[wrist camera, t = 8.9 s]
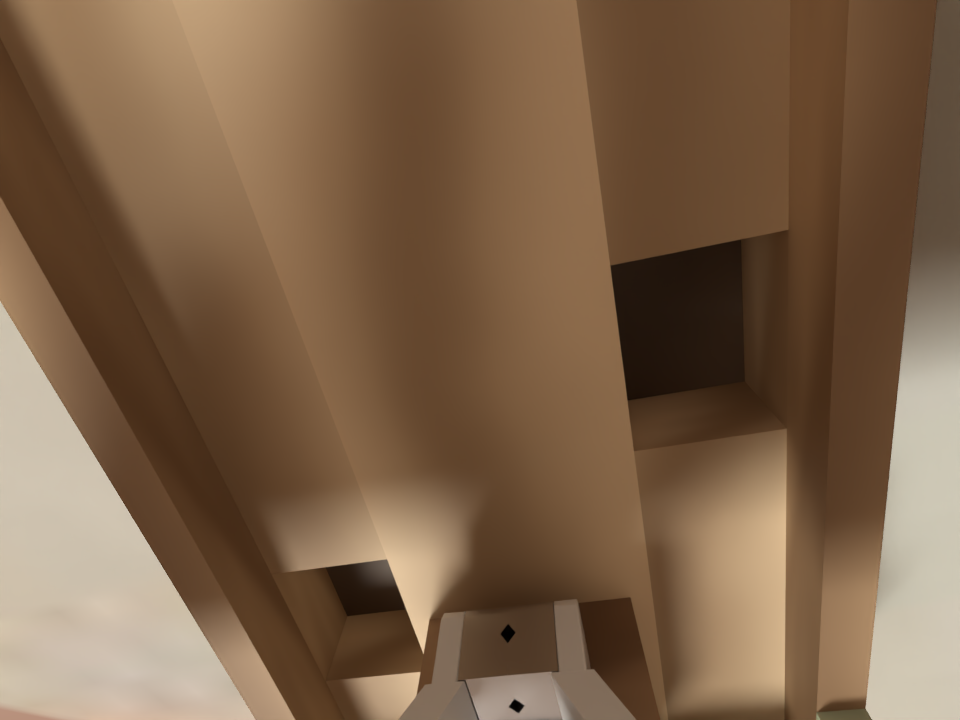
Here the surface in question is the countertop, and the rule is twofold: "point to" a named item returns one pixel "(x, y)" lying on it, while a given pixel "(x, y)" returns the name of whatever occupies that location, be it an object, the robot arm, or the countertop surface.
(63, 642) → the countertop surface
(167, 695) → the countertop surface
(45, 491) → the countertop surface
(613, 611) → the block
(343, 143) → the box
